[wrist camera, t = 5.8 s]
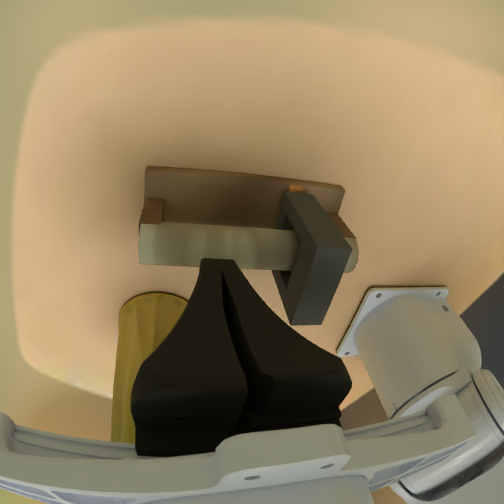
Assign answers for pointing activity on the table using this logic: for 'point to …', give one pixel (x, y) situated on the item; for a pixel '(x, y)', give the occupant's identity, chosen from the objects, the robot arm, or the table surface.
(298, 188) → the pipe stand
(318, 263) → the dark grey square frame
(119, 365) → the vase
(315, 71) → the table surface
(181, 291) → the table surface
